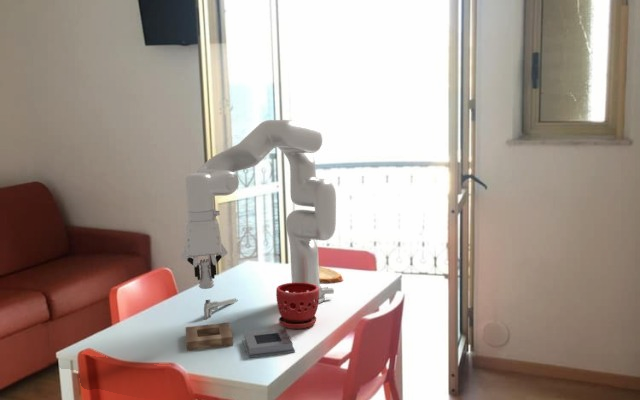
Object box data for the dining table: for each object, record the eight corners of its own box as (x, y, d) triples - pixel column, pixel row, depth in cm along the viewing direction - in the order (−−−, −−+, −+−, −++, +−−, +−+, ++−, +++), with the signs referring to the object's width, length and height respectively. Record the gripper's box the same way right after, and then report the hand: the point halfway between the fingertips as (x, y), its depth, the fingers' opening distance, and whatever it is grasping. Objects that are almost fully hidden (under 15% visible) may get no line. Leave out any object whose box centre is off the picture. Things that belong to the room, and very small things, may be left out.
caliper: (207, 320, 219) (206, 301, 218) (204, 319, 220) (203, 301, 219) (238, 301, 238) (237, 283, 237) (235, 301, 238) (234, 283, 237)
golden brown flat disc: (343, 283, 255) (343, 274, 254) (295, 285, 255) (295, 275, 254) (342, 271, 272) (341, 262, 272) (297, 273, 272) (296, 264, 272)
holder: (286, 336, 201) (286, 328, 200) (294, 352, 188) (294, 343, 188) (242, 341, 198) (242, 333, 198) (248, 358, 185) (247, 349, 185)
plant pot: (305, 334, 202) (303, 295, 200) (269, 327, 209) (267, 289, 207) (328, 320, 213) (326, 283, 211) (293, 315, 220) (291, 279, 218)
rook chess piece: (199, 285, 200) (197, 258, 199) (214, 284, 200) (212, 257, 199) (198, 289, 195) (196, 262, 194) (213, 288, 196) (211, 261, 194)
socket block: (229, 330, 208) (228, 322, 207) (233, 345, 195) (232, 336, 195) (186, 335, 205) (185, 327, 205) (187, 350, 193) (186, 342, 192)
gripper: (229, 211, 200) (233, 272, 203) (171, 216, 196) (176, 277, 199) (231, 216, 192) (235, 278, 195) (171, 221, 189) (177, 284, 192)
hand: (205, 277), depth 197 cm, fingers closed on rook chess piece, 3 cm apart
